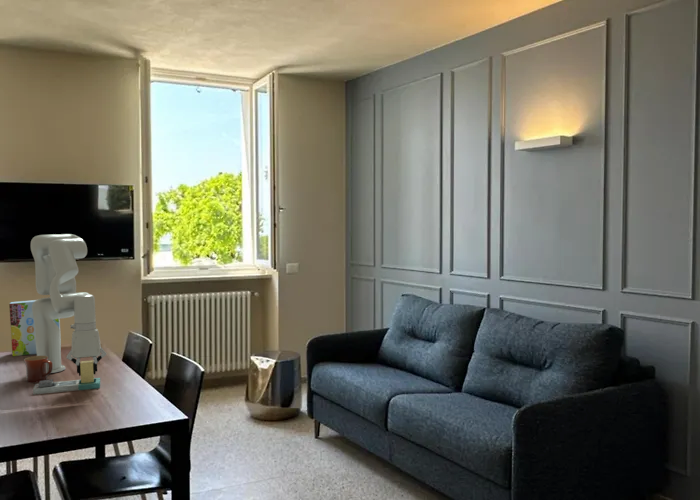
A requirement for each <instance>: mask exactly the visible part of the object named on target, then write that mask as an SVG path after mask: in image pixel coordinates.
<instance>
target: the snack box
mask: <svg viewBox="0 0 700 500" xmlns="http://www.w3.org/2000/svg"><path fill="white" fill-rule="evenodd" d="M36 300H37V299H33V300H32V299H31V300H20V301H18V300H17V301H11V302H9V304H8V305H9V321H10V322H9V324H10V333H11V334H10V340H11V354H12V357H18V356H27V355H28V356H29V355H37V353H36V331H35V322H34V316H33V312H32V305H33V303H34V302H35V301H36ZM60 319H61V318H60ZM60 319H54V320H53V321H54V323H55V324H56V325H57V326H58V327H59V329H60V330H61V320H60ZM61 338H62V336H61V334H60V346H61V347H62V345H61V344H62V340H61Z"/></svg>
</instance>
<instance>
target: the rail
mask: <svg viewBox="0 0 700 500" xmlns="http://www.w3.org/2000/svg"><path fill="white" fill-rule="evenodd" d="M96 389H97V390H98V389H101V377H94V382H88V383H81V379H75V380H73V379H72V380H63V381H53V387H43V388H39V383H34V386H33V388H32V395H33V396H35V395H44V394H52V393H65V392H73V391H85V390H96Z"/></svg>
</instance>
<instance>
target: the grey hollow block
mask: <svg viewBox="0 0 700 500" xmlns="http://www.w3.org/2000/svg"><path fill="white" fill-rule="evenodd" d="M53 382H54V379H47V380H41V381H40V382H38V384H39V388H43V387H53Z"/></svg>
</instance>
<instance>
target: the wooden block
mask: <svg viewBox="0 0 700 500" xmlns="http://www.w3.org/2000/svg"><path fill="white" fill-rule="evenodd" d="M93 363H94V360H93V359H91V360H80V369H81V376H80V380H81V383H88V382H94V378H95V374H94V373H93Z"/></svg>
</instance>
